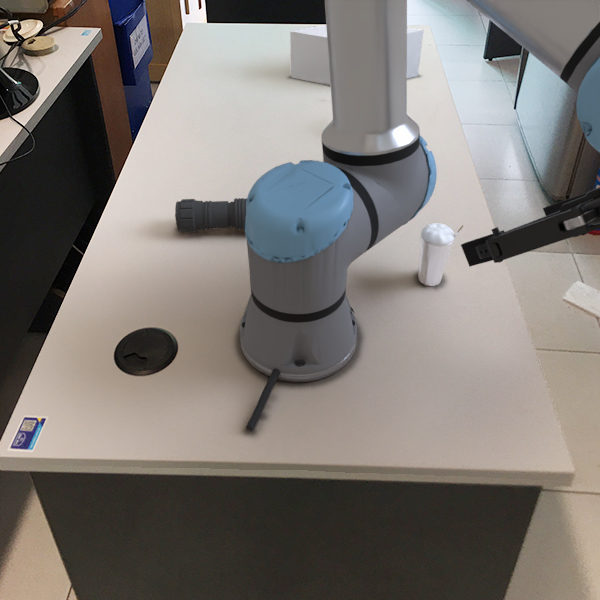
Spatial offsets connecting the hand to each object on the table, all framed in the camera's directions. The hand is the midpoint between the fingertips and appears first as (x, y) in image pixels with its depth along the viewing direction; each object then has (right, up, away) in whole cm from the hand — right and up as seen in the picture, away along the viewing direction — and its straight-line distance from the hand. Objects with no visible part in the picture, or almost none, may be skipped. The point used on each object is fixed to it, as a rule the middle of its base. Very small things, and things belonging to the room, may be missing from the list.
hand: (509, 235), depth 75 cm
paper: (-13, +43, +69) cm, 82 cm away
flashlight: (-36, +4, +26) cm, 45 cm away
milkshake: (-6, -5, +17) cm, 18 cm away
